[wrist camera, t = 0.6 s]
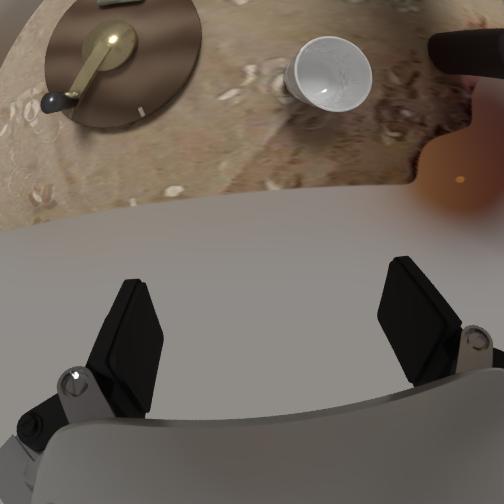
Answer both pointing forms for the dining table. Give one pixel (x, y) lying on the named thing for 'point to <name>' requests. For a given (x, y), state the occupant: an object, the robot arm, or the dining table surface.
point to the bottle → (469, 52)
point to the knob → (95, 61)
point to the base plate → (136, 69)
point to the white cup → (329, 74)
